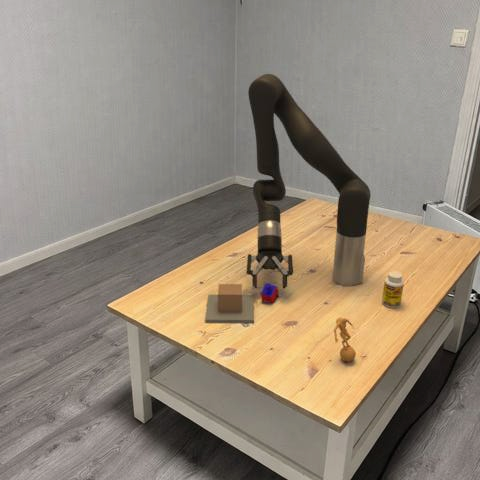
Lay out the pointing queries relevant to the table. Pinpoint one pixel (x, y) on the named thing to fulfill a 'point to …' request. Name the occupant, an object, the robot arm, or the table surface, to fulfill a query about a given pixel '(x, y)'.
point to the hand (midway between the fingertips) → (269, 288)
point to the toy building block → (269, 292)
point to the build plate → (230, 316)
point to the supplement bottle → (393, 290)
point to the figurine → (347, 351)
